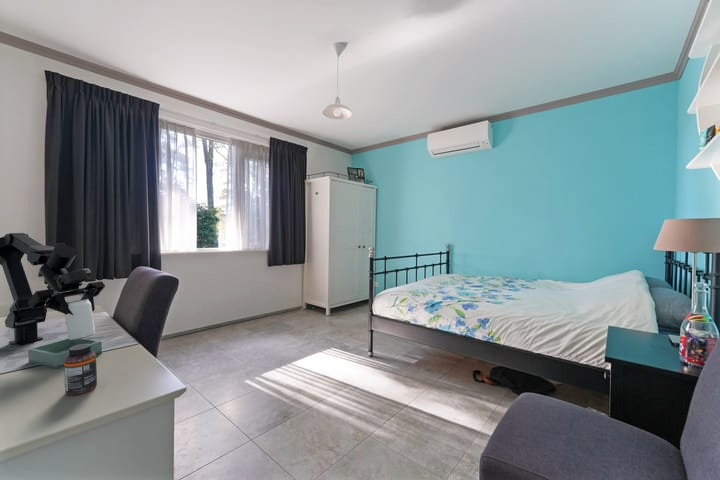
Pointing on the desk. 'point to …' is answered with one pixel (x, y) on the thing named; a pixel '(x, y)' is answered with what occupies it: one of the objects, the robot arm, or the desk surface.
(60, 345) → the tray
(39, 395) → the desk surface
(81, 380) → the supplement bottle
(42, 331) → the desk surface
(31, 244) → the robot arm
